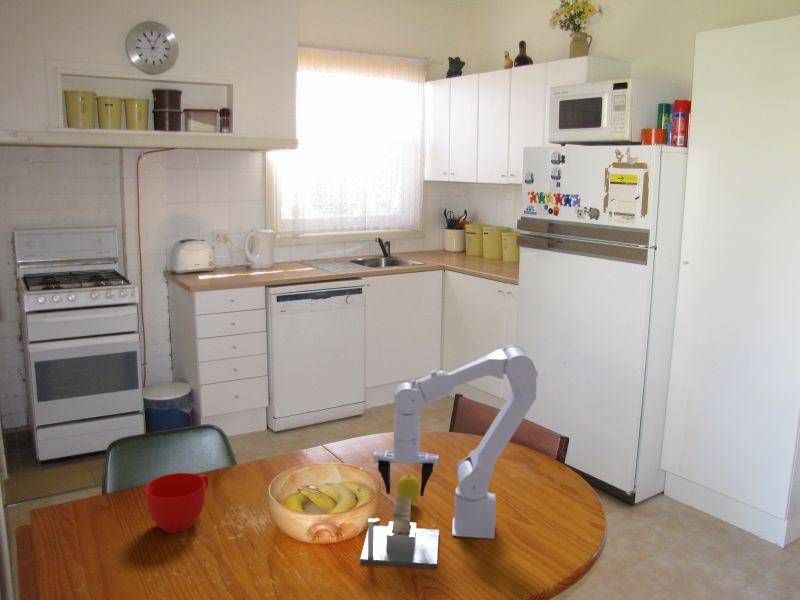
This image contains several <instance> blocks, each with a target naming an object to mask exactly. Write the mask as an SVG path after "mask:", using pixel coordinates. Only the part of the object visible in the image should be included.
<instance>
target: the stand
mask: <svg viewBox="0 0 800 600" xmlns="http://www.w3.org/2000/svg"><path fill="white" fill-rule="evenodd" d="M367 524H368V526H367V527H368V528H367V530H366V535H365V536H366V537H365V540H364V545H363V548H362V551H361V555H360V562H359V563H360V564H366V565H367V564H369V565H380V566H381V565H383V566H399V567H412V568H413V567H414V568H426V569H437V568H438V555H439V554H438V551H439V541H440V540H439V535H440V529H433V528H429V529H428V528H417V522H410V530H409V532H395V531H393V520H392V521H389V522H388V525H387V526H384V525H379V524H381V519H379V518H378V517H376V518H368V521H367Z"/></svg>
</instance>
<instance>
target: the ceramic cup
mask: <svg viewBox="0 0 800 600" xmlns="http://www.w3.org/2000/svg"><path fill="white" fill-rule="evenodd" d="M208 485H209V477H208V476H207V475H206V474H203V473H202V474H199V475H198V474H195V473H187V472H178V473H176V472H175V473H169V474H164V475H162V476H159V477H156V478H154V479H152V480H151V481H150V482H149V483H147V484H146V487H145V490H144V494H145V501H146V506H147V510H148V513H149V516H150V518H151V519H152V520H153V522H154V523H155V525H157V527H159V528H160V529H162V531H163V532H165V533H168V534H179V533H183V532H185V531H188V530H190V528H192V526H193V525H194V524H195V522H196V521H197V520H198V519H199V518H200V515H201V513H202V511H203V507H204V506H205V505H204V504H205V500H206V499H205V497H206V490H207V488H208Z"/></svg>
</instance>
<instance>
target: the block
mask: <svg viewBox="0 0 800 600" xmlns="http://www.w3.org/2000/svg"><path fill="white" fill-rule="evenodd" d="M411 504H412V503H411V498H402V497H398V496H395V497H394V499H393V504H392V505H393V506H392V507H393V510H392V511H393V512H392V522H393V531H395V532H409V530H410V523H411V516H412V515H411V514H412V513H411V511H412V507H411V506H412V505H411Z"/></svg>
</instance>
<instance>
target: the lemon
mask: <svg viewBox="0 0 800 600" xmlns="http://www.w3.org/2000/svg"><path fill="white" fill-rule="evenodd" d="M420 491H421V486H420V483H419V480H418V478H417V477H415V475H412V474H410V473H407V474H405V475H402V477H400V479H399V480H398V483H397V486H396V493H397V497H402V498H411V504H413V503H415V502H416V501H417V500H418V498H419V497H420Z"/></svg>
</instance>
